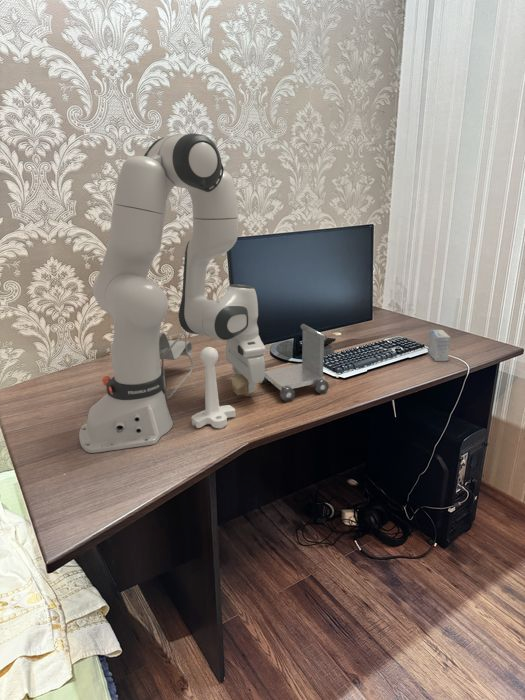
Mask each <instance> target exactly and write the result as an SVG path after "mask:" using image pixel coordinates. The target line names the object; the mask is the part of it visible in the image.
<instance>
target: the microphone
mask: <svg viewBox="0 0 525 700" xmlns="http://www.w3.org/2000/svg"><path fill="white" fill-rule="evenodd" d="M334 341H336V338H335V337H334V338H332V337H327V339H326V340H325V341H324V347H325V346H327V345H330V344H331V343H333V342H334Z"/></svg>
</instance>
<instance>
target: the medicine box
mask: <svg viewBox="0 0 525 700" xmlns="http://www.w3.org/2000/svg"><path fill="white" fill-rule="evenodd" d="M450 345H451V336H450V334H448V333H447V332H446V331H444V330H443V329H431V330H429V336H428V347H427V354H428V355H429V356H430V357H431V358H432V359H433V361H435V362H448V360H449V355H450Z"/></svg>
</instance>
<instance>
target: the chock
mask: <svg viewBox="0 0 525 700" xmlns="http://www.w3.org/2000/svg"><path fill="white" fill-rule="evenodd" d="M231 379H232V382H231V383H232V384H231V385H232V391H233V392H234V393H235V394H236V395H237V396H241V395H245V394H250V393H249V392H248V391H247V386H248V385H249V382H248V379H247V378H245V377H244V376H243V375H242V374H241V375H236V376H235V375H233V376H231ZM257 384H258V383H256V385H255V392H257V391H258V388H257V386H258V385H257Z"/></svg>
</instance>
